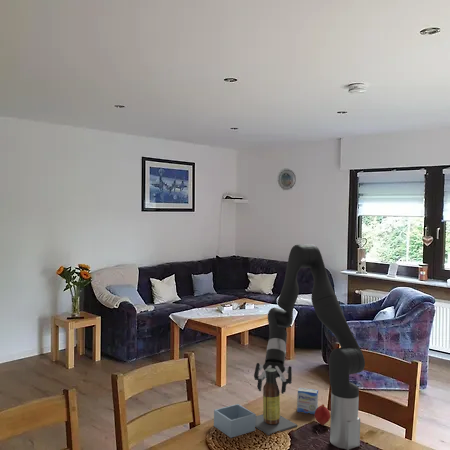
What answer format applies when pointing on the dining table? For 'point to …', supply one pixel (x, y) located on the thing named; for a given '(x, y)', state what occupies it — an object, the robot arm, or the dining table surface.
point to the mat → (270, 429)
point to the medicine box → (307, 400)
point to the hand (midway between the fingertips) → (271, 391)
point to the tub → (234, 420)
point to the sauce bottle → (271, 398)
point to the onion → (322, 414)
